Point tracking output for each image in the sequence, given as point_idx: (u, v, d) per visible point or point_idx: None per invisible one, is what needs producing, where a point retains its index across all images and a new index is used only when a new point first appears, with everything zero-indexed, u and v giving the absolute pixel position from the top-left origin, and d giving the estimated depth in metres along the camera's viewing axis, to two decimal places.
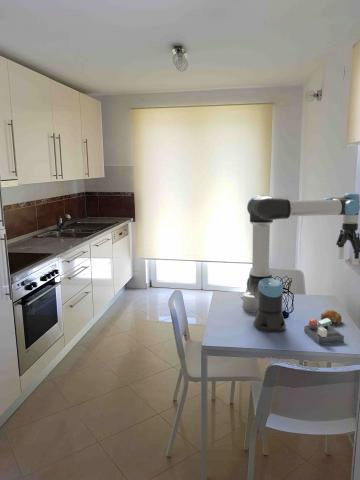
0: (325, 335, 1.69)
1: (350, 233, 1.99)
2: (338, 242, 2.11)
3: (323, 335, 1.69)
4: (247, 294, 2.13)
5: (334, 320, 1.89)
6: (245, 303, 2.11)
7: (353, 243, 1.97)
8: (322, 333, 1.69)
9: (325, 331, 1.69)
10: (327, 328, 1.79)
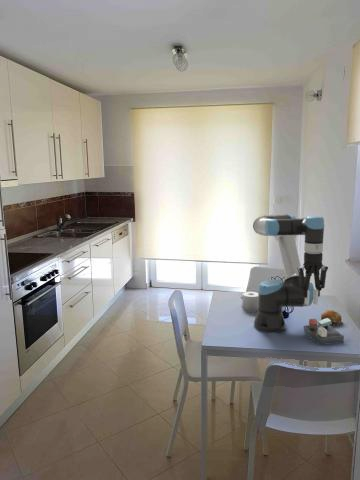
0: (325, 335, 1.69)
1: None
2: None
3: (323, 335, 1.69)
4: (246, 294, 2.14)
5: (334, 320, 1.89)
6: (244, 303, 2.12)
7: (305, 278, 1.66)
8: (322, 333, 1.69)
9: (325, 331, 1.69)
10: (327, 328, 1.79)
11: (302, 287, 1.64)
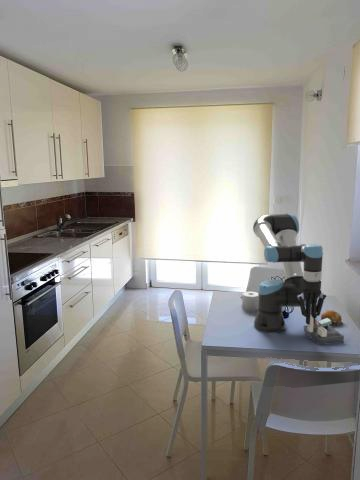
0: (325, 335, 1.69)
1: None
2: None
3: (323, 335, 1.69)
4: (246, 293, 2.14)
5: (334, 320, 1.89)
6: (244, 302, 2.12)
7: (306, 305, 1.68)
8: (322, 333, 1.69)
9: (325, 331, 1.69)
10: (327, 328, 1.79)
11: (304, 314, 1.66)
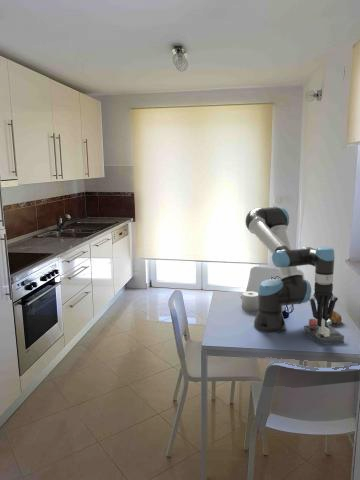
0: (328, 335, 1.70)
1: None
2: None
3: (326, 335, 1.69)
4: (246, 293, 2.15)
5: (334, 320, 1.89)
6: (244, 302, 2.13)
7: (317, 308, 1.69)
8: (325, 333, 1.69)
9: (328, 331, 1.69)
10: None
11: (316, 317, 1.68)
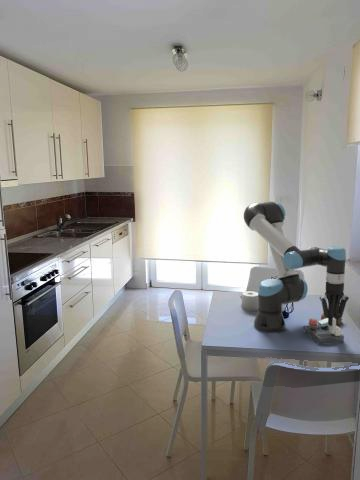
0: (339, 334, 1.70)
1: None
2: None
3: (337, 334, 1.70)
4: (246, 293, 2.15)
5: None
6: (244, 302, 2.13)
7: (328, 307, 1.70)
8: (336, 332, 1.70)
9: (339, 330, 1.70)
10: (327, 328, 1.79)
11: (327, 316, 1.68)
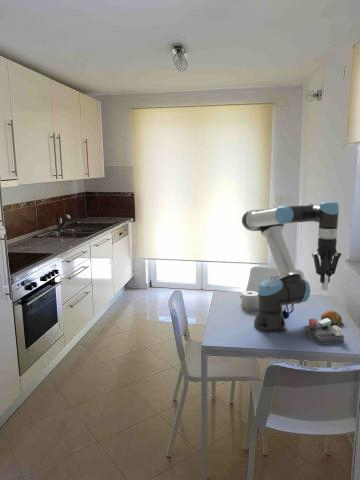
0: (339, 334, 1.70)
1: None
2: (330, 268, 1.68)
3: (337, 334, 1.70)
4: (245, 293, 2.15)
5: (334, 321, 1.89)
6: (243, 302, 2.13)
7: None
8: (336, 332, 1.70)
9: (339, 330, 1.70)
10: (327, 328, 1.79)
11: (319, 273, 1.65)
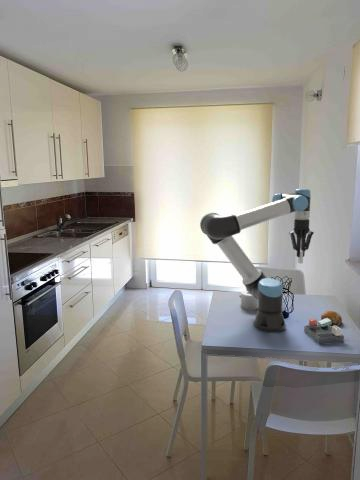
0: (339, 334, 1.70)
1: None
2: None
3: (337, 334, 1.70)
4: (245, 292, 2.16)
5: (334, 321, 1.88)
6: (243, 301, 2.14)
7: None
8: (336, 332, 1.70)
9: (339, 330, 1.70)
10: (327, 328, 1.79)
11: (295, 248, 1.98)
